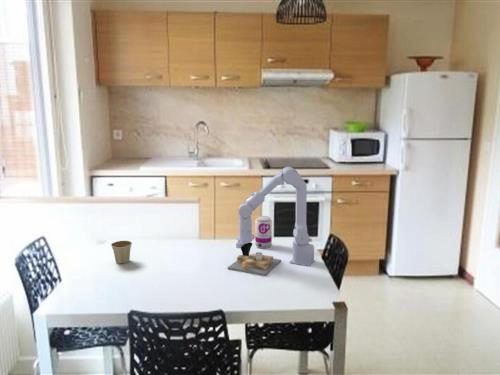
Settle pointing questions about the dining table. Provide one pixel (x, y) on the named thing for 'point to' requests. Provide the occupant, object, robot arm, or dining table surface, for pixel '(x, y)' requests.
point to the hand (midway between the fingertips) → (245, 258)
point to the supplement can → (263, 232)
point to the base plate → (263, 272)
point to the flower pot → (121, 251)
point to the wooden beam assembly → (255, 261)
